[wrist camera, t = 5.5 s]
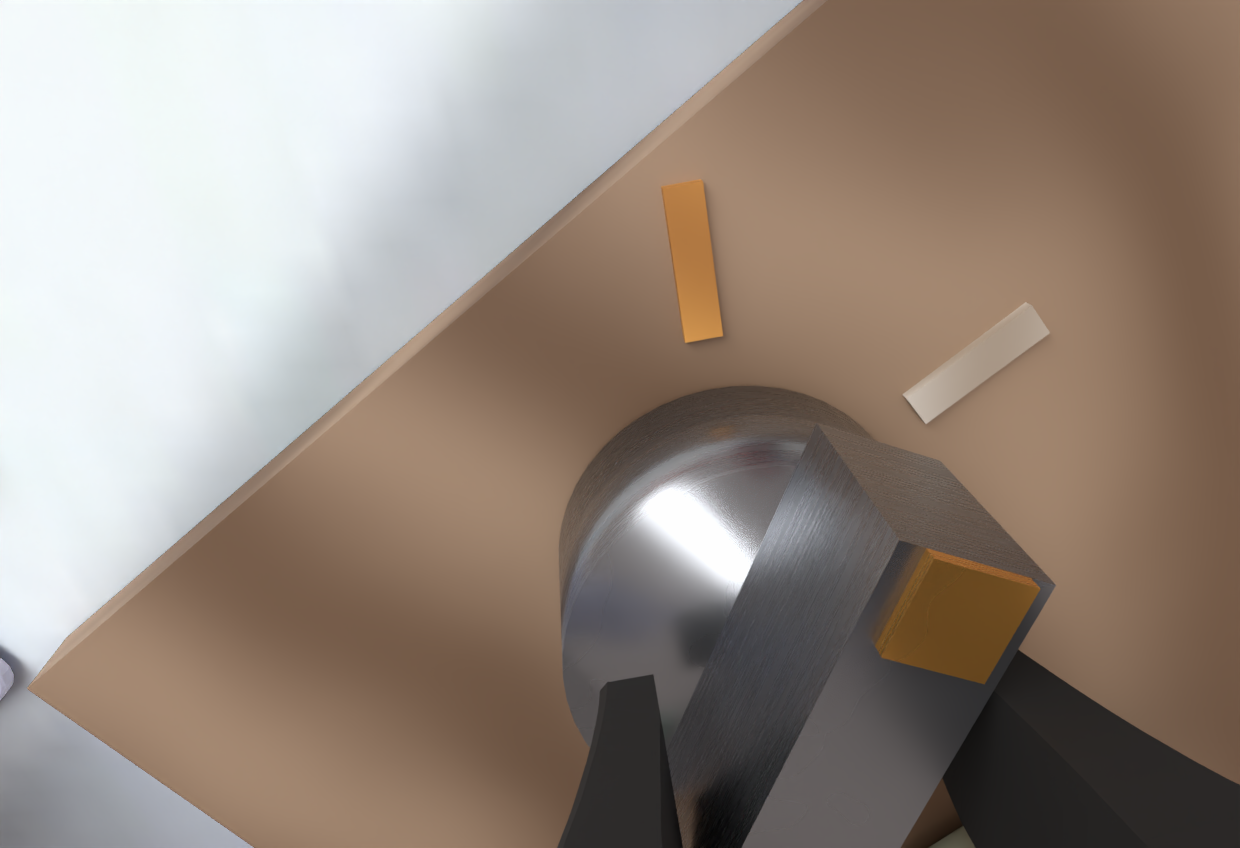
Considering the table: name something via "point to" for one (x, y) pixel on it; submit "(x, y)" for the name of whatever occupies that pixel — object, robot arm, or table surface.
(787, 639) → the wing knob
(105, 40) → the table surface
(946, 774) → the robot arm
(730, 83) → the base
